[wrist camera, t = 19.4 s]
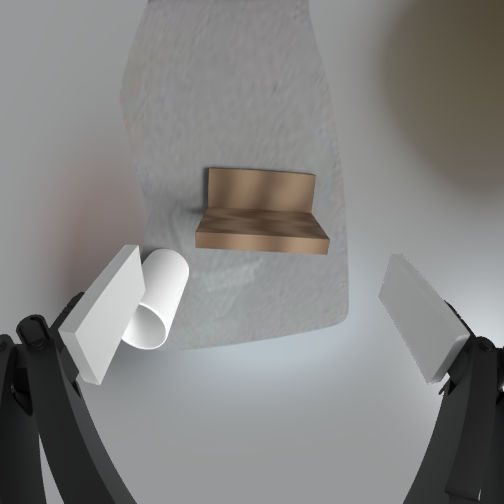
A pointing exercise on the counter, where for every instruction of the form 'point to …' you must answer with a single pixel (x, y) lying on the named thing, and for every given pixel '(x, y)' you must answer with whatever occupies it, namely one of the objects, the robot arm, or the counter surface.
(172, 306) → the cup
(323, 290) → the counter surface
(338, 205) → the counter surface
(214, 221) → the label board
